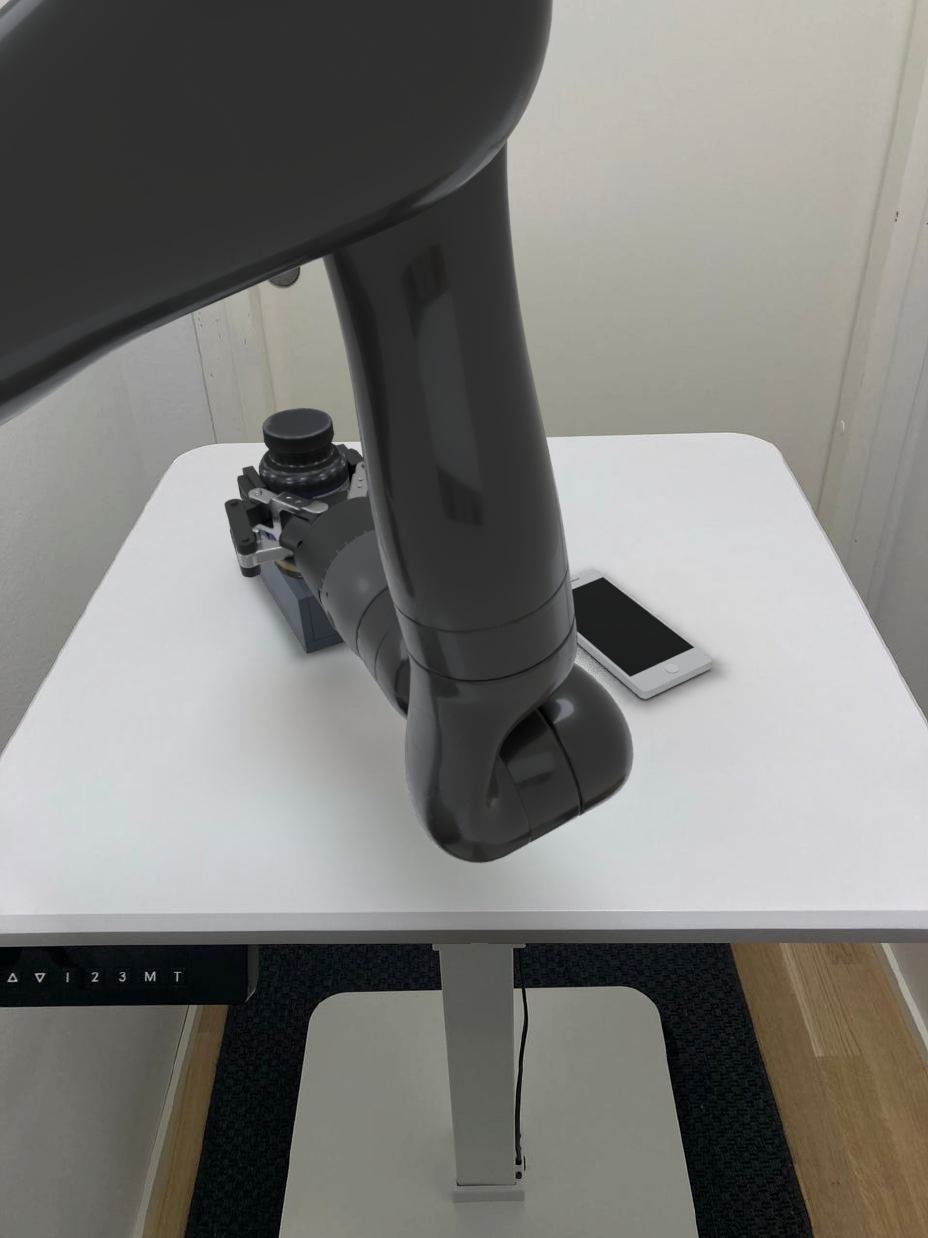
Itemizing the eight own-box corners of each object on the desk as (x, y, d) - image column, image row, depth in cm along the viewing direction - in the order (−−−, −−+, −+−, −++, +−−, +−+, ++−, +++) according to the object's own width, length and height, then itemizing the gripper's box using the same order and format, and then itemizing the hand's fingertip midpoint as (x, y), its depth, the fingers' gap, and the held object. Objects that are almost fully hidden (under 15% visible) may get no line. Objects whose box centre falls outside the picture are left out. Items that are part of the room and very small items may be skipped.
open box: (306, 653, 81) (297, 600, 78) (251, 561, 92) (241, 510, 89) (473, 599, 86) (472, 547, 83) (402, 518, 98) (398, 469, 94)
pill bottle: (257, 562, 72) (231, 424, 65) (321, 528, 75) (303, 394, 69) (311, 594, 68) (289, 451, 62) (375, 557, 72) (361, 419, 65)
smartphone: (643, 701, 75) (644, 691, 74) (529, 601, 86) (529, 592, 85) (713, 668, 78) (714, 658, 77) (594, 575, 88) (594, 567, 88)
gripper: (491, 499, 58) (382, 396, 70) (255, 565, 53) (183, 442, 65) (493, 602, 62) (390, 488, 74) (276, 671, 57) (204, 537, 70)
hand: (294, 467), depth 70 cm, fingers closed on pill bottle, 6 cm apart
